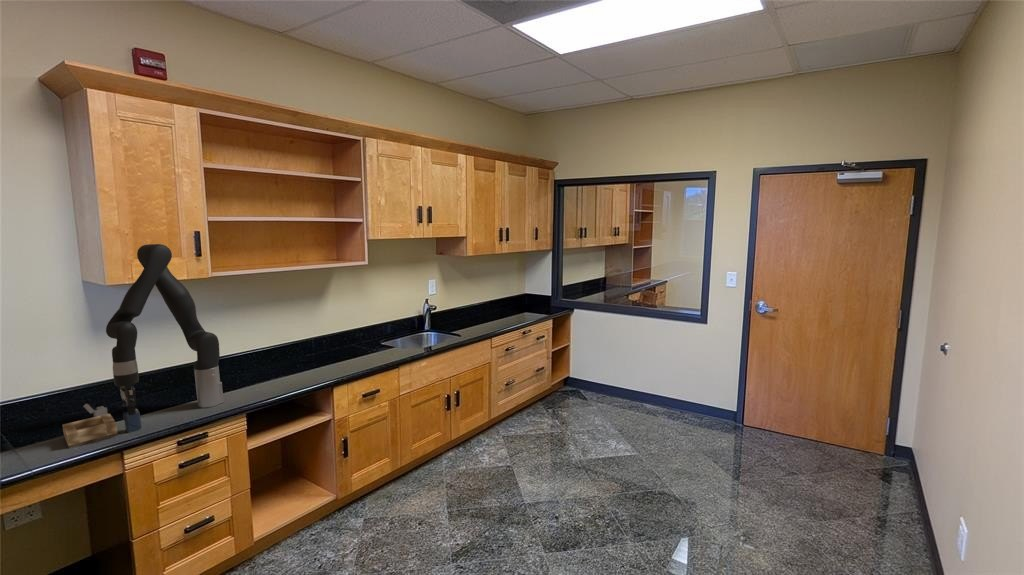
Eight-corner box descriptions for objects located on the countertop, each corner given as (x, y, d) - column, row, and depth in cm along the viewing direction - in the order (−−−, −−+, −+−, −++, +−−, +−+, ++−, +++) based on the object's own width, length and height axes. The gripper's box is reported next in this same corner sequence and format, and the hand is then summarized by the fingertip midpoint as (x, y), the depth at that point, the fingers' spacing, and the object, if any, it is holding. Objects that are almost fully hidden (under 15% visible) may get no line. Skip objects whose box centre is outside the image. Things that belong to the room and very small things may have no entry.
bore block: (111, 425, 193) (109, 413, 192) (117, 435, 184) (116, 423, 183) (64, 437, 183) (62, 424, 182) (68, 448, 174) (66, 435, 173)
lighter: (106, 416, 202) (103, 398, 201) (108, 417, 201) (105, 399, 200) (85, 423, 196) (82, 404, 194) (87, 423, 195) (84, 405, 194)
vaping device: (124, 432, 187) (120, 402, 185) (140, 427, 191) (136, 398, 189) (126, 433, 185) (122, 404, 184) (142, 428, 190) (139, 399, 188)
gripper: (141, 373, 183) (145, 413, 185) (133, 366, 192) (137, 404, 194) (116, 377, 177) (121, 419, 179) (109, 370, 187) (114, 409, 189)
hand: (129, 411), depth 187 cm, fingers open, 8 cm apart
